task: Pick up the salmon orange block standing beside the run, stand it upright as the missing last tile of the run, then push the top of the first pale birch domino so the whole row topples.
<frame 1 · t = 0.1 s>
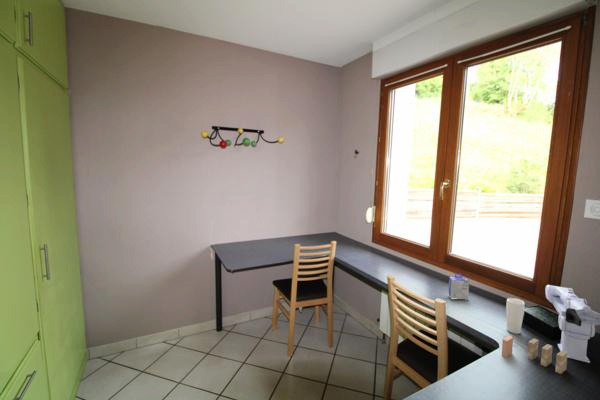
hand: (595, 326, 99), 22 cm above the table, tool horizontal, fingers open, 7 cm apart
ink cartridge box: (457, 298, 170), on the table
salmon orange block: (506, 354, 118), on the table
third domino: (532, 357, 116), on the table
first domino: (560, 370, 108), on the table
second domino: (546, 363, 112), on the table
drinking glass: (513, 331, 135), on the table
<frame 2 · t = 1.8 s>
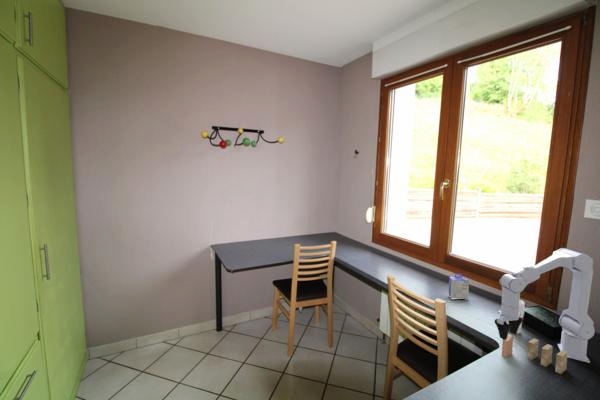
hand: (508, 336, 117), 8 cm above the table, tool pointing down, fingers open, 7 cm apart
nothing on the table moved.
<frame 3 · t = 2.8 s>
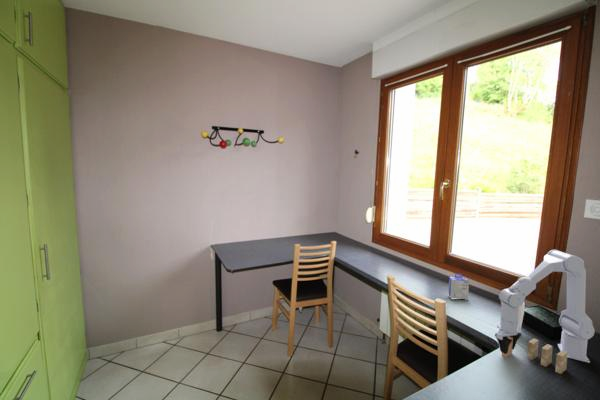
hand: (507, 350, 118), 2 cm above the table, tool pointing down, fingers closed on salmon orange block, 5 cm apart
salmon orange block: (506, 354, 118), on the table, touching gripper
everything else where it was.
when the fingers open (3 cm above the table, at t = 6.7 s): salmon orange block drops 1 cm, on the table.
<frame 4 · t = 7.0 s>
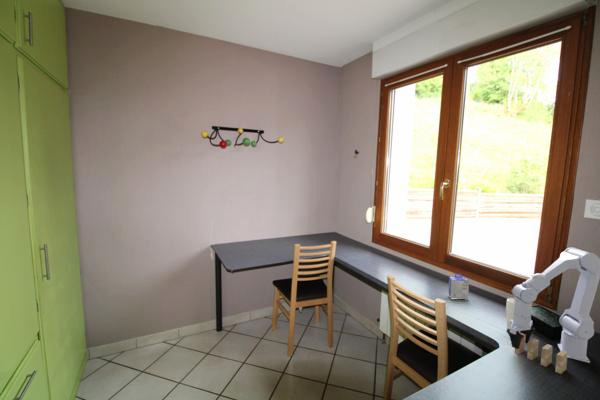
hand: (520, 345, 120), 3 cm above the table, tool pointing down, fingers open, 7 cm apart
salmon orange block: (519, 351, 120), on the table
everything else where it was.
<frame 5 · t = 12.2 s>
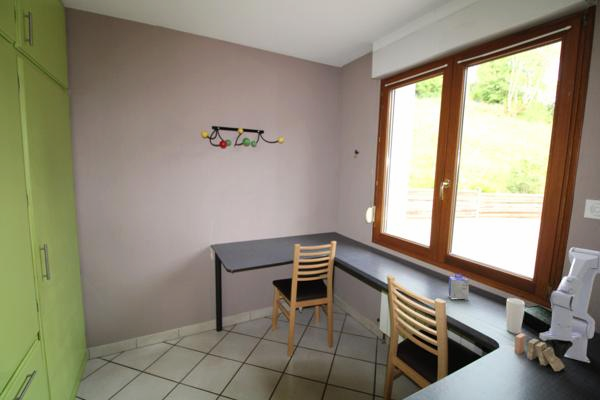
hand: (558, 357, 108), 5 cm above the table, tool pointing down, fingers closed
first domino: (560, 368, 108), on the table, tilted 40°
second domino: (545, 363, 112), on the table, tilted 18°
everything else where it was.
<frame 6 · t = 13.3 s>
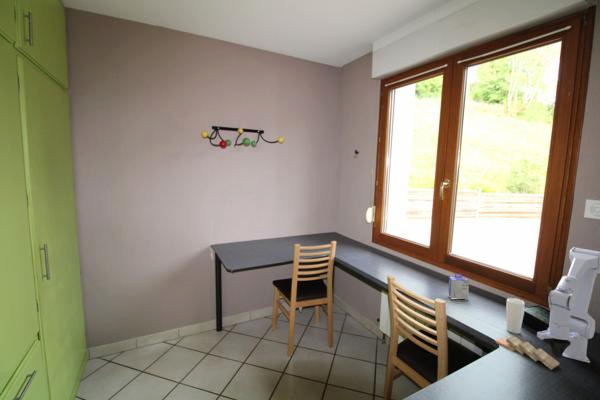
hand: (556, 356, 109), 5 cm above the table, tool pointing down, fingers closed
salmon orange block: (516, 349, 121), on the table, tilted 90°, touching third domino
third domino: (526, 352, 118), point 1 cm above the table, tilted 74°, touching salmon orange block
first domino: (555, 366, 109), point 1 cm above the table, tilted 70°
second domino: (540, 358, 114), point 1 cm above the table, tilted 70°
everything else where it was.
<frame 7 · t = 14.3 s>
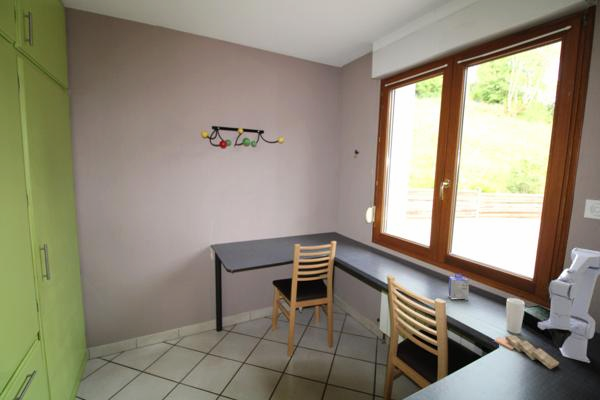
hand: (557, 346, 108), 9 cm above the table, tool pointing down, fingers closed
salmon orange block: (514, 348, 121), on the table, tilted 90°
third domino: (524, 349, 119), point 1 cm above the table, tilted 77°, touching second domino
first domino: (554, 366, 109), point 1 cm above the table, tilted 72°, touching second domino
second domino: (537, 357, 114), point 1 cm above the table, tilted 69°, touching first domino, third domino
everything else where it was.
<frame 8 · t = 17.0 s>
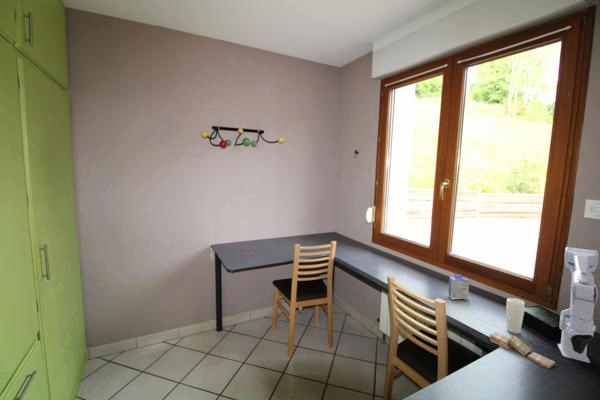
hand: (577, 352, 104), 9 cm above the table, tool pointing down, fingers closed
salmon orange block: (510, 347, 122), on the table, tilted 90°, touching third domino
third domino: (510, 343, 122), point 2 cm above the table, tilted 90°, touching salmon orange block
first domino: (551, 365, 110), on the table, tilted 90°
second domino: (528, 352, 117), point 1 cm above the table, tilted 65°
everything else where it was.
at the end: salmon orange block tilted 90°; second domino tilted 69°; salmon orange block 0.6 cm from the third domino (horizontally) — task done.
